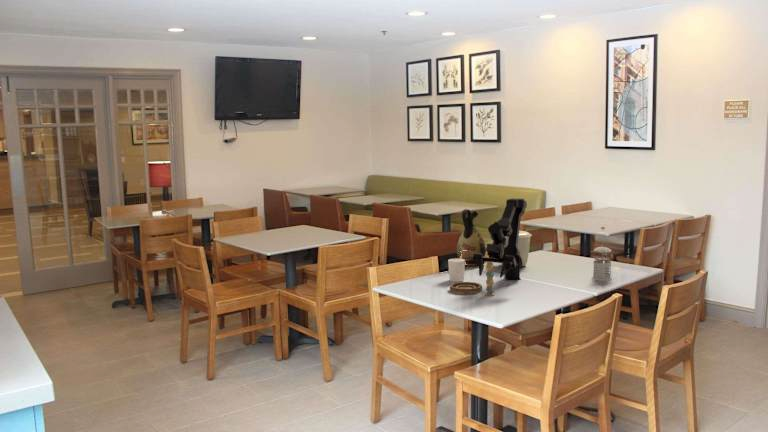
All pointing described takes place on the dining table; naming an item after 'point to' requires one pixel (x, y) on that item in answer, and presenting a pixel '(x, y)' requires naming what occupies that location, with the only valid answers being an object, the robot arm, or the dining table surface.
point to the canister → (523, 245)
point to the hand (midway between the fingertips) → (490, 276)
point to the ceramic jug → (470, 239)
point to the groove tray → (465, 288)
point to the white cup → (456, 269)
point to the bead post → (489, 279)
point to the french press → (602, 264)
